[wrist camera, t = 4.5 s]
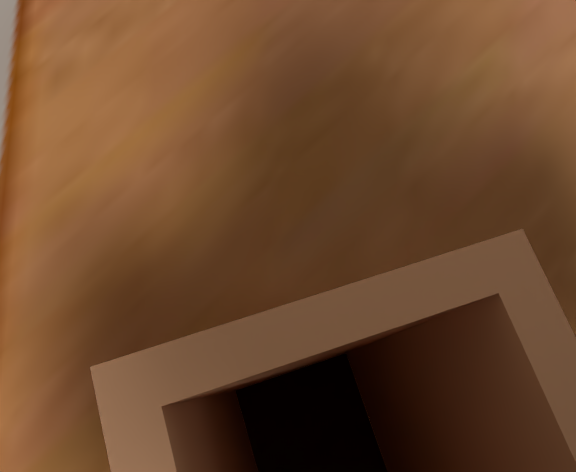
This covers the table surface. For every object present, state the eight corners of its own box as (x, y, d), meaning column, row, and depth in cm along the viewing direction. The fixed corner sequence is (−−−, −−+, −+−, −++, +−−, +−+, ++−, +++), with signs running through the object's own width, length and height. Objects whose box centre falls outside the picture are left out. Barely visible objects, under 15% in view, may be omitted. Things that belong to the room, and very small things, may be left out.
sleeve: (413, 486, 15) (776, 747, 4) (257, 546, 14) (223, 1032, 4) (356, 330, 16) (522, 228, 6) (212, 378, 15) (89, 366, 5)
